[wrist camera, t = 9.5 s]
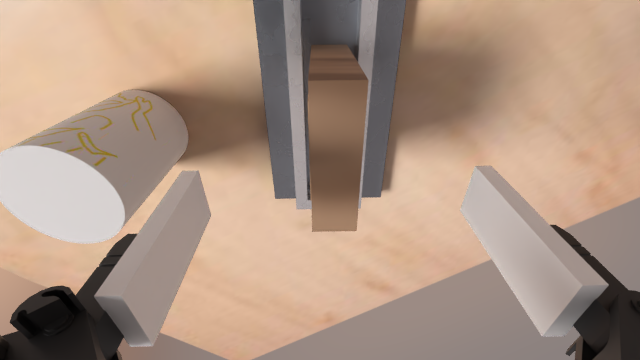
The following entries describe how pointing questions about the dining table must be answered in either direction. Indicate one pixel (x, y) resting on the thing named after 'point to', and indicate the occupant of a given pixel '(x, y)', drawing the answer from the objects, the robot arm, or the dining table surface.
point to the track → (292, 80)
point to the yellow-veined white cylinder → (93, 167)
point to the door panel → (335, 136)
